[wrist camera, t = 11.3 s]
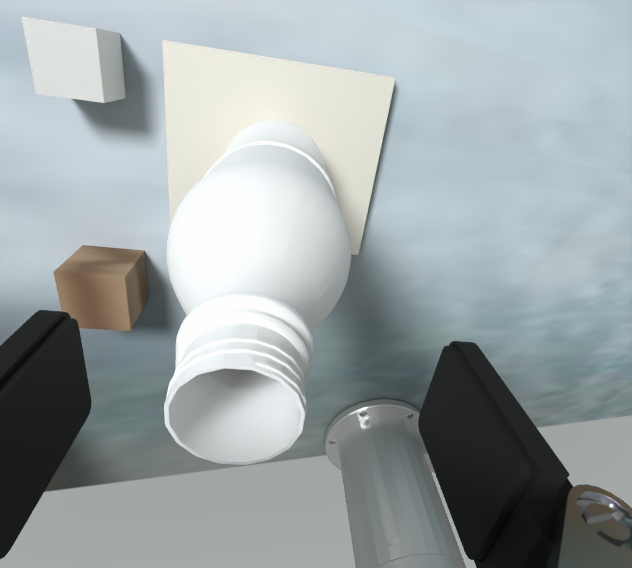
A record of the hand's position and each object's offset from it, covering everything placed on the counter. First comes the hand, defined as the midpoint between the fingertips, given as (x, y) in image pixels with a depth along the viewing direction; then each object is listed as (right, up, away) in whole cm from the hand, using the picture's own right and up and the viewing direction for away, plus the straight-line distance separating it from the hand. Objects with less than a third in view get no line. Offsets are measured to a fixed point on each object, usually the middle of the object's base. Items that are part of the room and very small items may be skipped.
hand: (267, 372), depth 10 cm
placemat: (-2, +12, +21) cm, 24 cm away
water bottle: (-2, +12, +20) cm, 23 cm away
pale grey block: (-14, +18, +17) cm, 28 cm away
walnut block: (-16, +3, +25) cm, 30 cm away
